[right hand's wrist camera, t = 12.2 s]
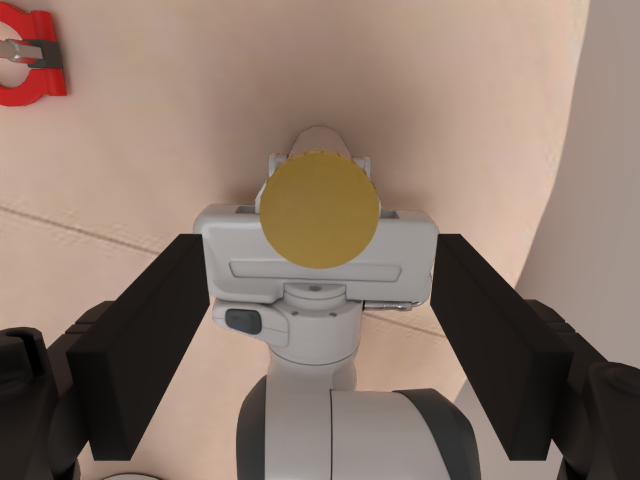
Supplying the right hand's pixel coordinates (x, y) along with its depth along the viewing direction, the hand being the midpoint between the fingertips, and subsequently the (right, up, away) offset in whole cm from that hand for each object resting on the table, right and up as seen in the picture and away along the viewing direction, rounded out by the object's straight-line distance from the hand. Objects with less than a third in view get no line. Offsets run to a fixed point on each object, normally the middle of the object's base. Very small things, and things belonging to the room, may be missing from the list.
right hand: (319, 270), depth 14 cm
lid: (0, +2, +6) cm, 7 cm away
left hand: (0, +8, +18) cm, 20 cm away
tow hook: (-27, +17, +22) cm, 39 cm away
